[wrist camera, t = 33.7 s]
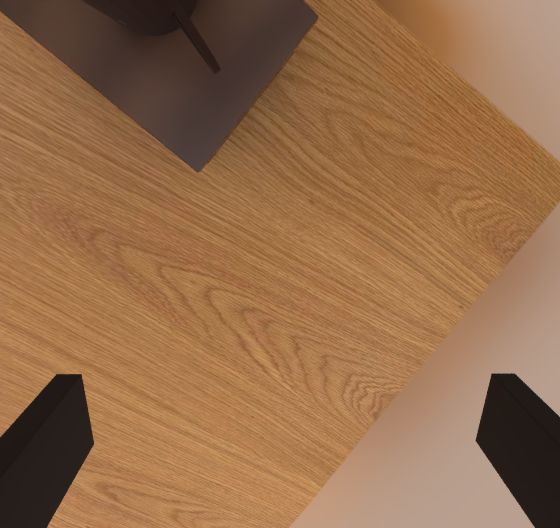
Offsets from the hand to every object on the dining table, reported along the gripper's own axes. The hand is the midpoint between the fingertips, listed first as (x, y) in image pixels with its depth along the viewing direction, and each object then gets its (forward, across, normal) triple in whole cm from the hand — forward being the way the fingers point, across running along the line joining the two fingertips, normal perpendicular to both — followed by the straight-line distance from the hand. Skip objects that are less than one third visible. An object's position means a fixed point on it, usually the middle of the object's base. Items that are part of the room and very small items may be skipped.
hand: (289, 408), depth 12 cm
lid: (+19, -8, +16) cm, 26 cm away
